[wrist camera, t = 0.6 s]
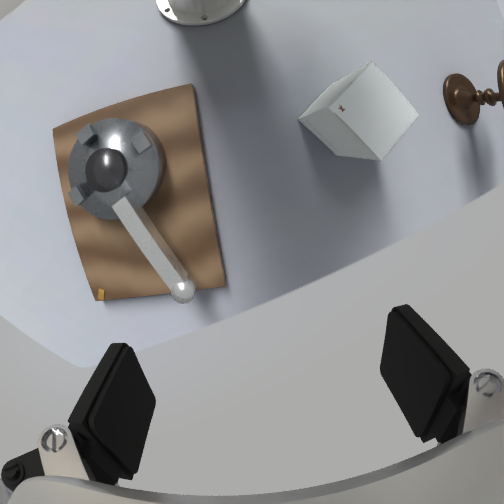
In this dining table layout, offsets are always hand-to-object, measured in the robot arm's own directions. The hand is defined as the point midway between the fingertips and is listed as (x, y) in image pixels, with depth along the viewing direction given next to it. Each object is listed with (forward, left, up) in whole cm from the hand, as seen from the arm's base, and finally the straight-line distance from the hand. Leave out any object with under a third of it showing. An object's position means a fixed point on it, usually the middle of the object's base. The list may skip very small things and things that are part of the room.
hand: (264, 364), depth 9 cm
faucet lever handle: (-2, -12, -27) cm, 30 cm away
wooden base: (-3, -15, -29) cm, 33 cm away
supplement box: (-10, +13, -30) cm, 34 cm away
